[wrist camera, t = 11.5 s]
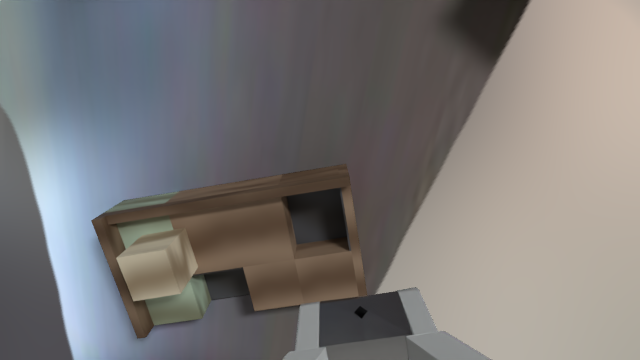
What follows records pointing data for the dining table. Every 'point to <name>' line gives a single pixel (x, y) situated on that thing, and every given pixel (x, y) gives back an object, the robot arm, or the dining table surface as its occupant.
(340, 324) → the robot arm
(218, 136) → the dining table surface
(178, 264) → the maple block
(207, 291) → the board
